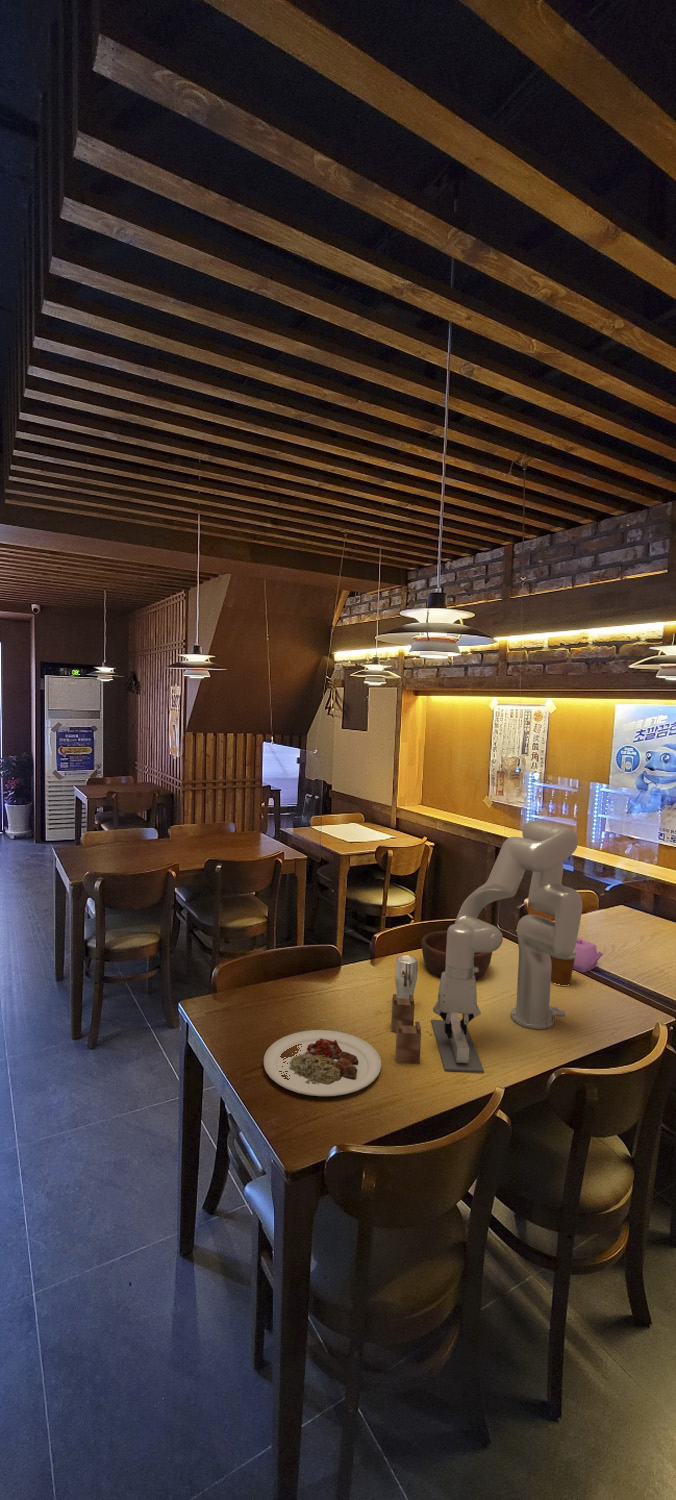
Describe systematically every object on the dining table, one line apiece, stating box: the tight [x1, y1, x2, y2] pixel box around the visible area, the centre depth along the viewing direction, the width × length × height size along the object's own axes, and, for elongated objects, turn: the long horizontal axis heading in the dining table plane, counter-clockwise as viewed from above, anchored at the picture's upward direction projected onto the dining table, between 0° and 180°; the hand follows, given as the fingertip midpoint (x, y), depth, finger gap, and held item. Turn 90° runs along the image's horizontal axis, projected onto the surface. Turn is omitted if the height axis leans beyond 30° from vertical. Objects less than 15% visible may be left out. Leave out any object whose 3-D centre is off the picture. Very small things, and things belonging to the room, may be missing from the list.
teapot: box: [573, 937, 604, 974], centre depth 233 cm, size 18×10×10 cm, turn 38°
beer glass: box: [394, 955, 418, 999], centre depth 195 cm, size 7×7×15 cm
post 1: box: [390, 993, 415, 1033], centre depth 181 cm, size 6×4×9 cm, turn 89°
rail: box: [444, 1012, 469, 1063], centre depth 173 cm, size 3×22×4 cm, turn 179°
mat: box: [430, 1019, 485, 1074], centre depth 173 cm, size 10×26×1 cm, turn 179°
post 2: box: [395, 1021, 422, 1065], centre depth 165 cm, size 6×4×9 cm, turn 89°
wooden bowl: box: [421, 930, 493, 981], centre depth 225 cm, size 25×25×10 cm
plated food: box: [263, 1029, 382, 1097], centre depth 161 cm, size 30×30×3 cm
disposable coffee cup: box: [550, 949, 577, 985], centre depth 218 cm, size 10×10×12 cm
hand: (455, 1035), depth 173 cm, fingers closed on rail, 3 cm apart
